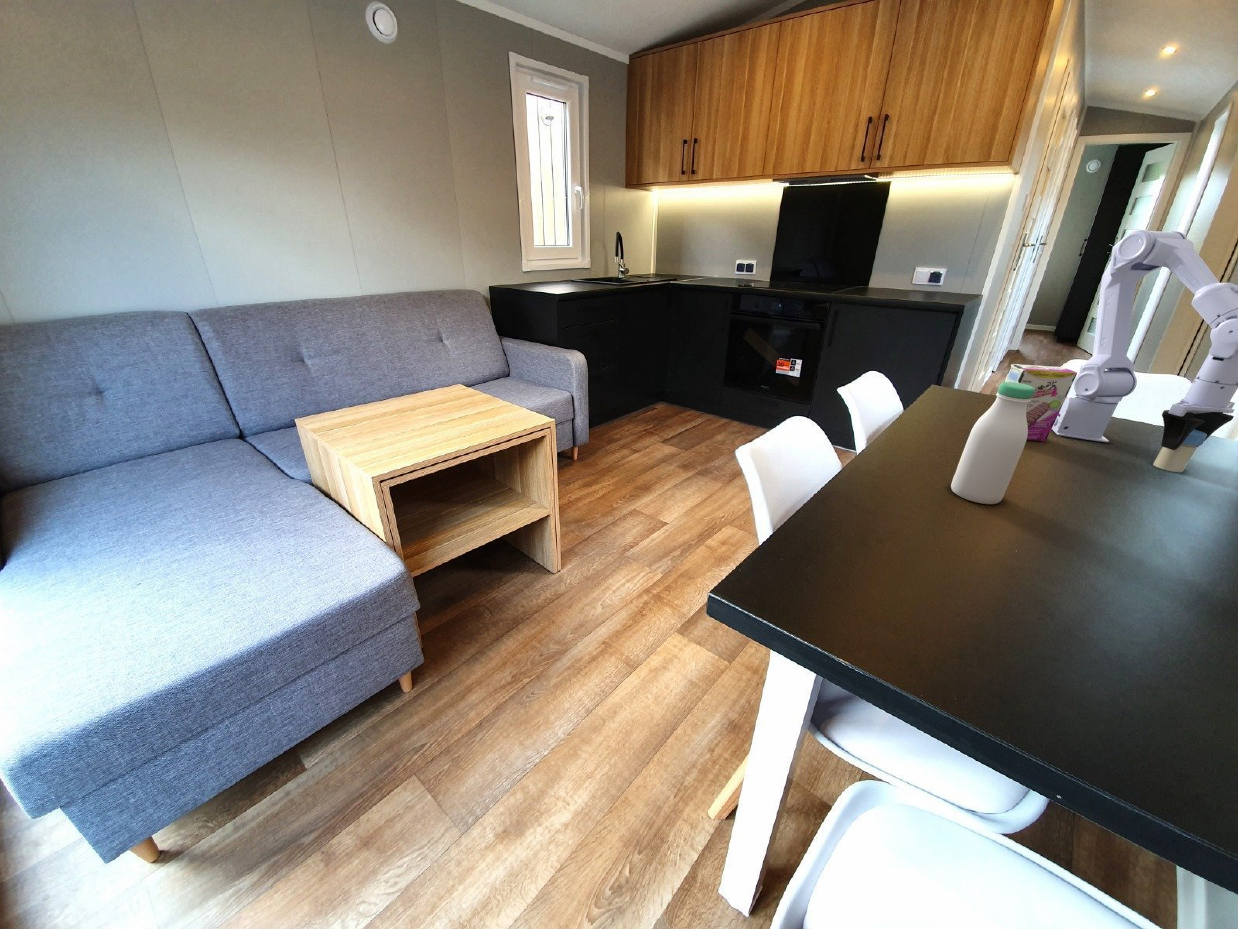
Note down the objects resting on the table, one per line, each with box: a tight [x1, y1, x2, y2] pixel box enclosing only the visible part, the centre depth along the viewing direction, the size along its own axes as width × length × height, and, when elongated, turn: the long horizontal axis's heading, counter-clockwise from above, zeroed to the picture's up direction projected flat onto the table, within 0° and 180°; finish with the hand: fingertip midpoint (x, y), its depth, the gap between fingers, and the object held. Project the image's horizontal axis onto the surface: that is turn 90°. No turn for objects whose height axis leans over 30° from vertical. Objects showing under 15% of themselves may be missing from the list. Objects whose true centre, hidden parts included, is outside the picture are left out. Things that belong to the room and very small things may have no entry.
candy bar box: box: [1004, 363, 1078, 443], centre depth 110 cm, size 11×5×16 cm, turn 84°
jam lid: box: [1182, 429, 1207, 447], centre depth 97 cm, size 5×5×2 cm
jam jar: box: [1152, 444, 1199, 473], centre depth 99 cm, size 4×4×8 cm
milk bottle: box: [950, 381, 1035, 505], centre depth 82 cm, size 8×8×20 cm
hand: (1179, 446), depth 98 cm, fingers open, 6 cm apart
